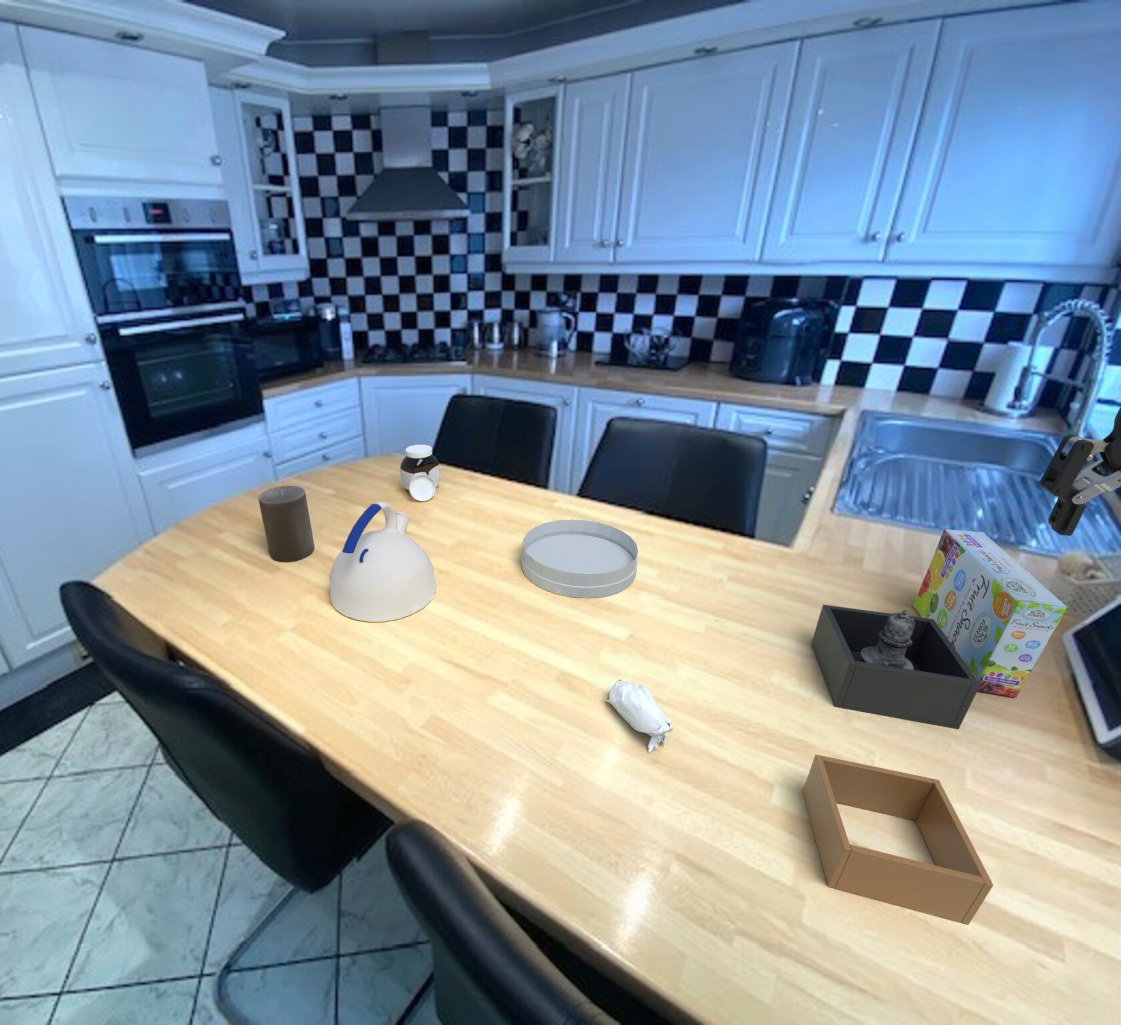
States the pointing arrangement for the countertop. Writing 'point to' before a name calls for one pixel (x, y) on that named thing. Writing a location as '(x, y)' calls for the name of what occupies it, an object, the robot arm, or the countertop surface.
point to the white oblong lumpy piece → (640, 711)
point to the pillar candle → (286, 523)
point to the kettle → (381, 571)
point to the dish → (579, 558)
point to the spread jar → (420, 472)
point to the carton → (886, 877)
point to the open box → (892, 669)
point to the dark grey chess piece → (892, 643)
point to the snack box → (988, 609)
